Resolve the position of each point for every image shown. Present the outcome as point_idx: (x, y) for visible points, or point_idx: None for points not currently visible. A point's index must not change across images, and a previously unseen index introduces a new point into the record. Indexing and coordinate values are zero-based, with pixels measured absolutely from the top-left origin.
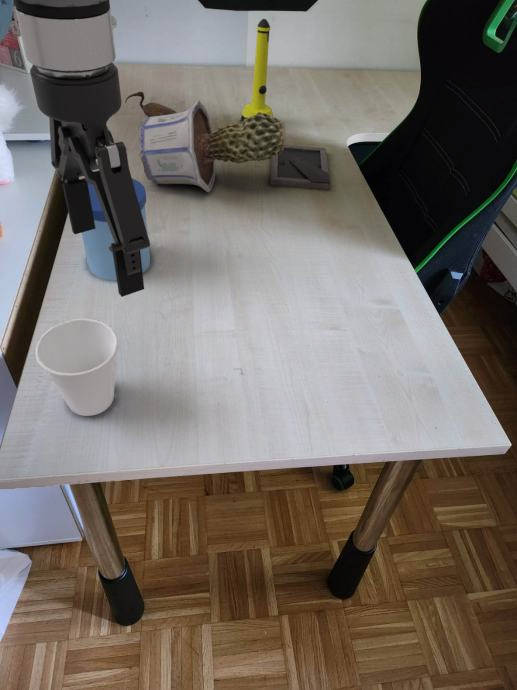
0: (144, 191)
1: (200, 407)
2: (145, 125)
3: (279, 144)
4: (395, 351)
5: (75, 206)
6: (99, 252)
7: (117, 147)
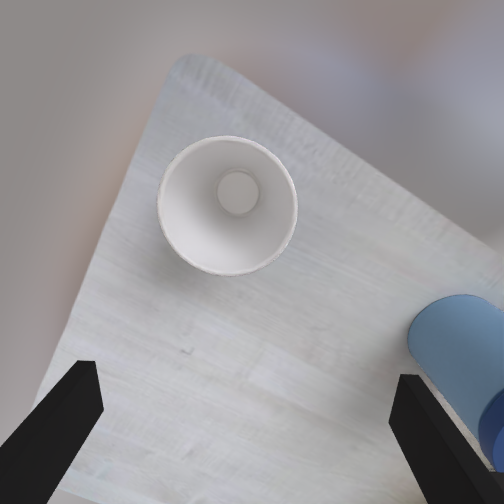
0: None
1: (161, 292)
2: None
3: None
4: (133, 474)
5: (452, 484)
6: (468, 330)
7: None
